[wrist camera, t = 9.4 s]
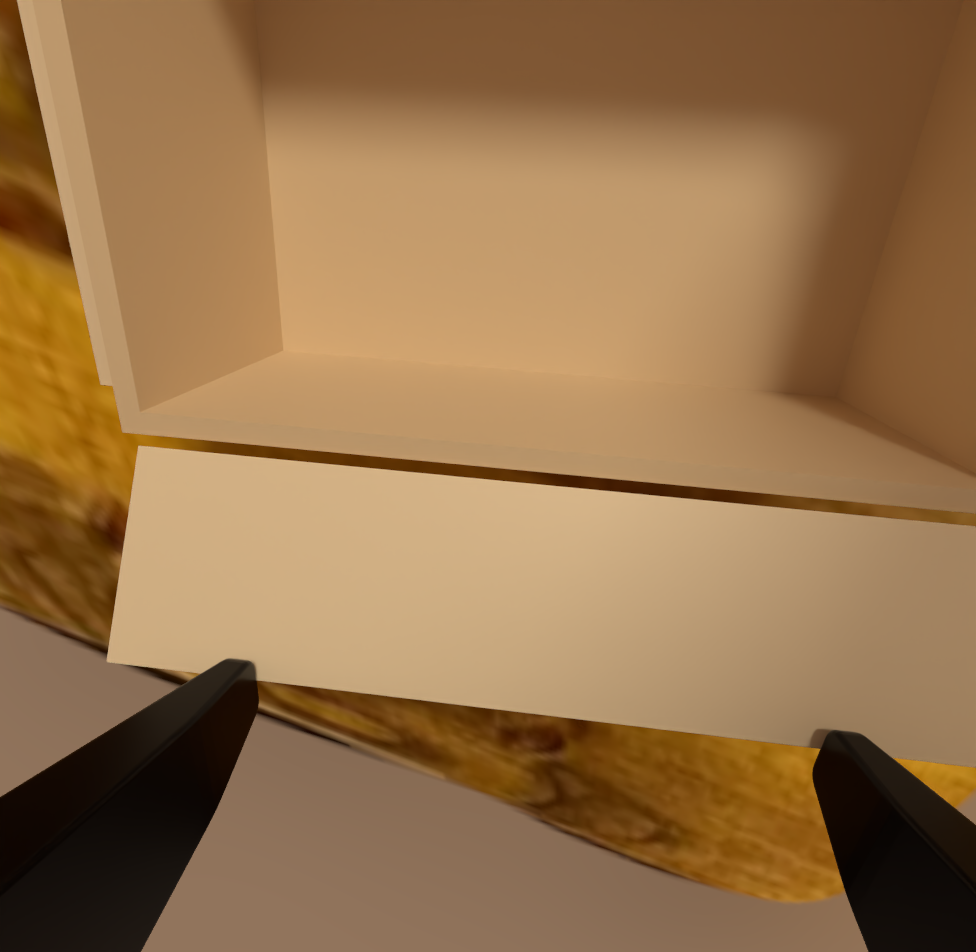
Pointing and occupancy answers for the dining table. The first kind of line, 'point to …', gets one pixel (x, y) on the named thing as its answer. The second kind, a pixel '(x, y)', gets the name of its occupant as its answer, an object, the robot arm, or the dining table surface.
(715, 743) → the dining table surface
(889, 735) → the flap camera side
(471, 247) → the carton
